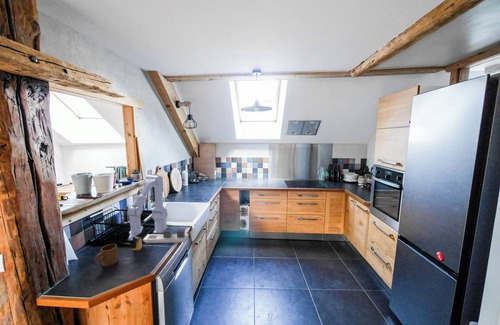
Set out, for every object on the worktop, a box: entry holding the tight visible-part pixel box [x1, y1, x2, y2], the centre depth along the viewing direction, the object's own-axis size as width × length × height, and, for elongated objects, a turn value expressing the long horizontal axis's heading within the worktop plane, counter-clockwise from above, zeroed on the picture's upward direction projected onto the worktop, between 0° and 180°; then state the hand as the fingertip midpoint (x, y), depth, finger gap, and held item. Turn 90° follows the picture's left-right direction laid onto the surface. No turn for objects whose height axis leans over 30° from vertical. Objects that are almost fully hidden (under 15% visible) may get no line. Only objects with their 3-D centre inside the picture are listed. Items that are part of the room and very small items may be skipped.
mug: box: [94, 243, 119, 267], centre depth 113 cm, size 12×8×9 cm, turn 167°
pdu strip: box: [142, 228, 189, 244], centre depth 140 cm, size 7×28×7 cm, turn 94°
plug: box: [131, 236, 143, 251], centre depth 129 cm, size 4×4×7 cm
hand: (136, 245), depth 130 cm, fingers open, 7 cm apart
